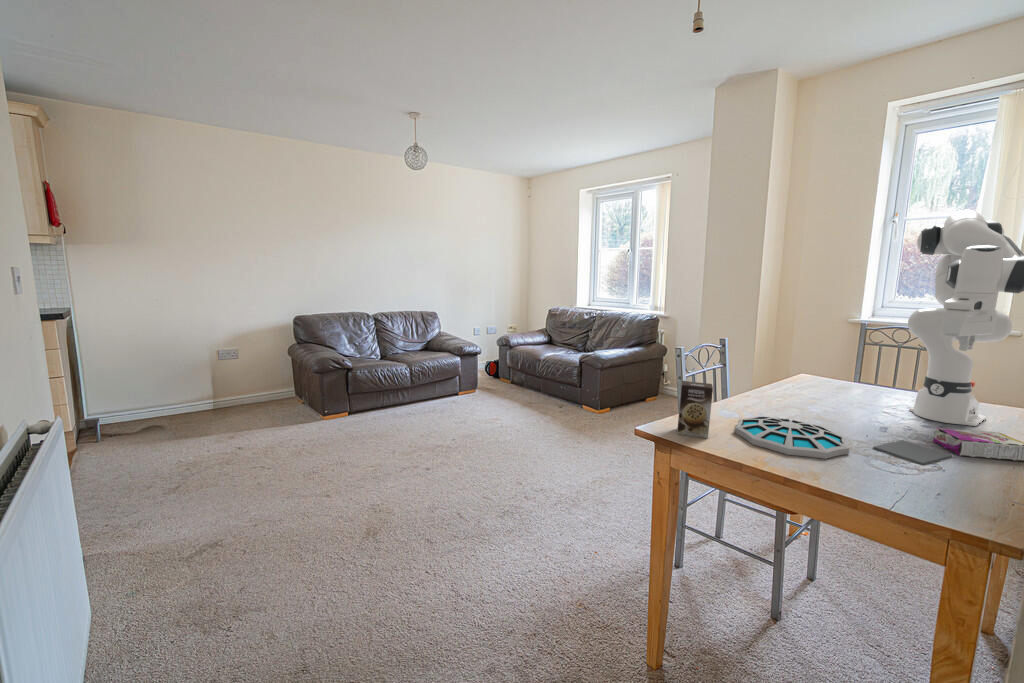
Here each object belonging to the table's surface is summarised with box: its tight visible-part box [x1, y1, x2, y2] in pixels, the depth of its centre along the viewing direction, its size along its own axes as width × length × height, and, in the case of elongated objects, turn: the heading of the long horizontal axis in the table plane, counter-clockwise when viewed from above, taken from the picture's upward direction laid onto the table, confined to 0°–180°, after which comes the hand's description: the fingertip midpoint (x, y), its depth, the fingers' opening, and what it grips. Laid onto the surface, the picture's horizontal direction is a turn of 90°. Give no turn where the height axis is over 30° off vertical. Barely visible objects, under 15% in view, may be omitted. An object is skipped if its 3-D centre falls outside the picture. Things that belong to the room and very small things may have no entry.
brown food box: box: [676, 380, 714, 439], centre depth 141 cm, size 9×6×16 cm
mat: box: [872, 439, 953, 466], centre depth 129 cm, size 14×12×1 cm
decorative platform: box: [734, 415, 850, 460], centre depth 139 cm, size 31×29×5 cm
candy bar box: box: [932, 427, 1024, 462], centre depth 130 cm, size 11×5×16 cm
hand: (965, 350), depth 131 cm, fingers closed
